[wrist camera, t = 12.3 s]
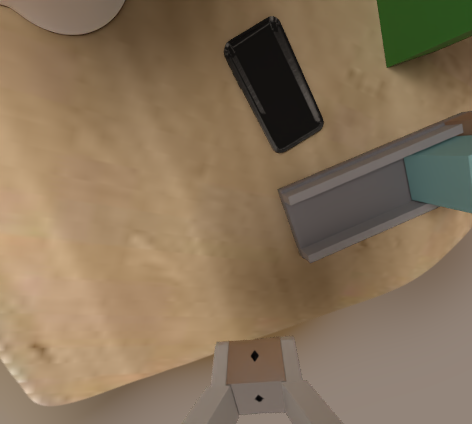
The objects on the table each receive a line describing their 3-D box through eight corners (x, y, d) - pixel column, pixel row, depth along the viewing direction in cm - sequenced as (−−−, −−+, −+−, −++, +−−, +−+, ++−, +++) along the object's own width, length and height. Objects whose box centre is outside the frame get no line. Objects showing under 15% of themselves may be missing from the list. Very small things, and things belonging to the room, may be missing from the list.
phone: (276, 12, 31) (326, 126, 35) (273, 17, 32) (322, 127, 36) (220, 46, 31) (277, 156, 35) (219, 49, 32) (274, 156, 36)
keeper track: (277, 189, 36) (312, 205, 25) (461, 112, 38) (570, 96, 27) (300, 254, 39) (340, 295, 28) (470, 180, 41) (571, 191, 30)
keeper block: (403, 155, 36) (468, 156, 27) (446, 136, 36) (524, 131, 28) (411, 199, 38) (475, 214, 29) (453, 181, 38) (528, 190, 30)
